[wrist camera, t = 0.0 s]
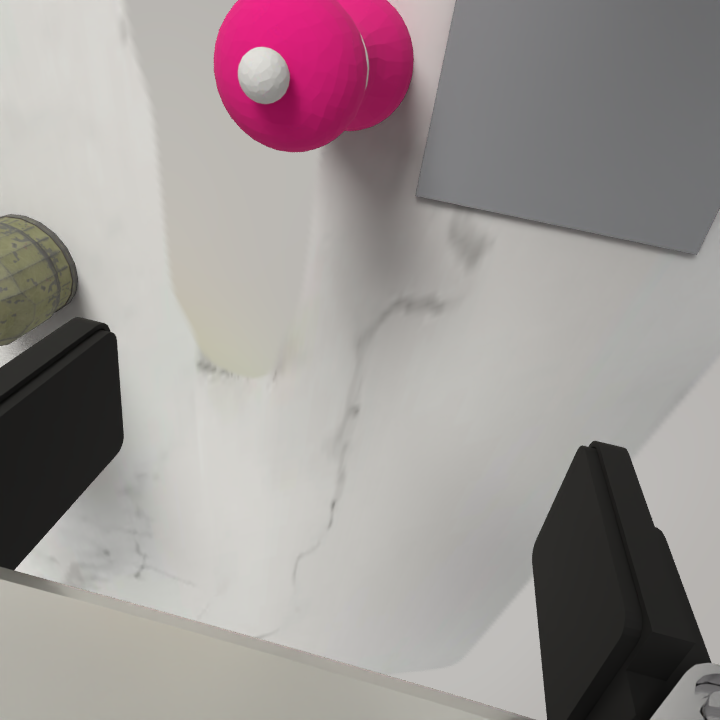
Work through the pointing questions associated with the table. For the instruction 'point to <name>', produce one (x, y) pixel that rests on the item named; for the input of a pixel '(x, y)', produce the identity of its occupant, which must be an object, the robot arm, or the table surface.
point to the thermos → (31, 276)
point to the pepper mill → (311, 68)
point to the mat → (582, 116)
